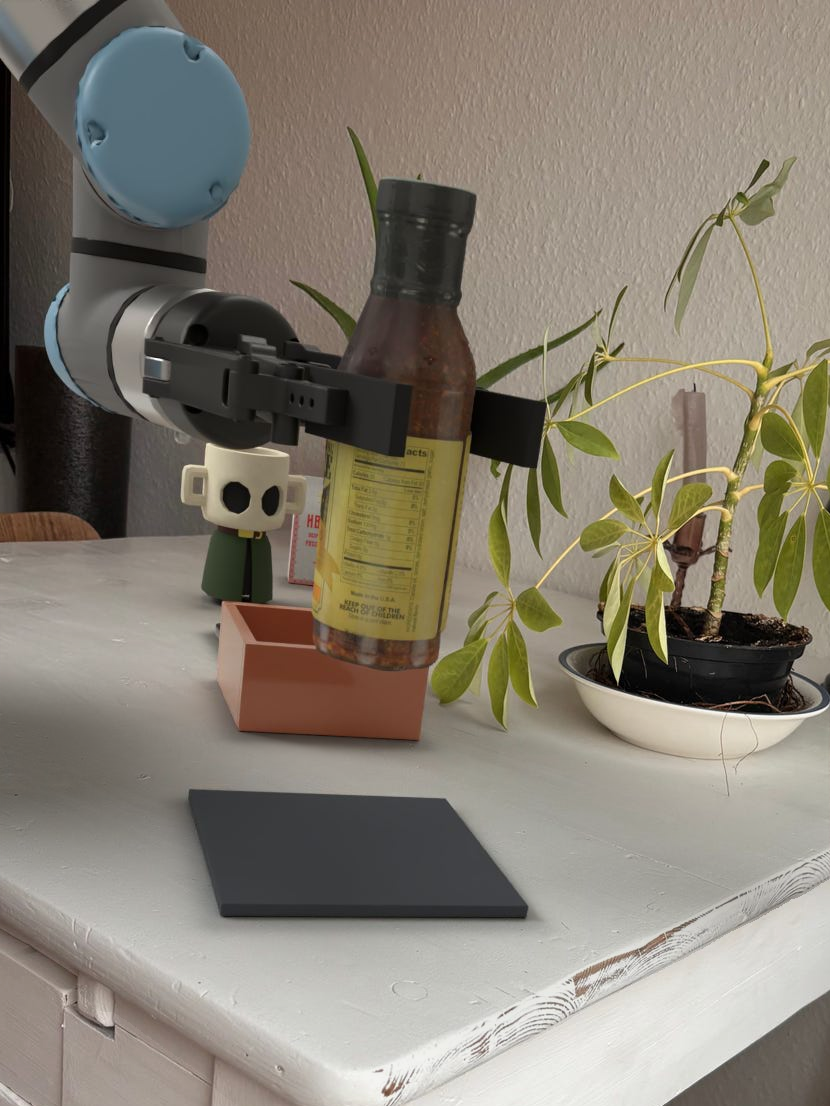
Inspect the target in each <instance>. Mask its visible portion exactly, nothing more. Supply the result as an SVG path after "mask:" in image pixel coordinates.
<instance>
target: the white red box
mask: <svg viewBox="0 0 830 1106" xmlns="http://www.w3.org/2000/svg"><path fill="white" fill-rule="evenodd" d="M298 475H299V476H303V477H305V478H306V481H307V490H306V500H305V508H304V511H303V513H301V514H298V515H297V514H292V521H291V532H290V542H289V543H290V544H289V554H288V565H287V583H289V584H297V585H306V586H312V587H313V586H314V575H315V565H316V554H317V544H318V533H319V523H320V508H321V499H322V493H323V480H324V477H320V476H312V475H304V474H298Z"/></svg>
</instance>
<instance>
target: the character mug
mask: <svg viewBox="0 0 830 1106" xmlns="http://www.w3.org/2000/svg"><path fill="white" fill-rule="evenodd" d="M290 459H291V457H290V454H289V453H286V452H283V451H280V450H278V449H277V450H276V449H272V448H267V447H262V446H259V447H256V448H252V449H245V450H235V449H228V448H224V447H221V446H218V445H215V444H212V443H209V442H206V445H205V452H204V465H200V464H187V465H183V469H182V471H181V487H180V499H181V503H182V504H184V505H187V506H194V507H195V506H196V507H201V512H202V517H203V518H204V520H206V521H208V522H209V523H212V524H214V525H216V526H217V529H214V531H213V532H212V534H211V536H210V539H209V542H208V543H209V544H208V549H207V553H206V558H205V563H204V566H203V567H204V568H203V573H202V579H201V585H200V588H201V591H203V592H204V593H205V594H206V595H207V596H208V597H210V598H214V599H217V600H218V601H230V602H243V601H242V599H243V596H248V601H249V603H254V604H265V603H268V602H271V601H273V596H274V595H273V593H274V591H273V589H274V581H273V580H274V576H273V557H272V545H271V542H270V539H269V536H268V534H267V532H269V531H270V532H271V531H274V530H277V529H281V528H282V525H283V523H284V521H285V518H286V515H287V514H288V515H293V514H297V515H298V514H301V513H303V511H304V508H305V500H306V490H307V481H306V478H305V477H303V476H299V475H300V474H289V473H290V465H291V464H290V463H291V460H290ZM194 478H203V480H202V494H201V493H194V491H193V490H194ZM288 487H294V488H295V492H294V493H295V494H294V502H289V501H287V499H288Z"/></svg>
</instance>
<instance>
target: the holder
mask: <svg viewBox="0 0 830 1106" xmlns="http://www.w3.org/2000/svg"><path fill="white" fill-rule="evenodd" d="M311 609H312V607H301V606H299V607H298V606H290V605H289V606H288V605H276V604H265V603H251V602H243V601H241V602H233V601H226V600H221V609H220V610H221V611H220V622H219V623H220V636H219V639H218V651H217V652H218V653H217V664H216V676H215V677H216V678H215V679H216V681H217V684H218V686H219V688H220V691H221V694H222V695H223V698H224V701H225V702H226V705H227V707H228V709H229V712H230V714H231V716H232V719H233V721H234V723H235V726H236V728H237V730H238V731H239V732H256V733H275V734H292V735H313V736H330V737H331V736H333V737H353V738H369V739H370V738H372V739H373V738H374V739H388V740H389V739H391V740H409V741H419V740H420V737H421V731H422V721H423V714H424V707H425V701H426V695H427V694H426V693H427V686H428V678H429V671H430V666H429V667H427V668H423V669H409V670H402V671H381V670H376V669H372V668H369V667H366V666H362V665H355V664H352V663H348V662H344V661H341V660H338V659H335V658H333V657H330V656H329V655H326V654H322V653H320V652H319V651H318V650H317V649H316V646H315V643H314V642H313V627H314V625H313V614H312V612H311Z"/></svg>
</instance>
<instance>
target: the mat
mask: <svg viewBox="0 0 830 1106" xmlns="http://www.w3.org/2000/svg"><path fill="white" fill-rule="evenodd" d="M188 804H189V807H190V810H191V814H192V818H193V821H194V825H195V829H196V832H197V835H198V839H199V843H200V847H201V850H202V854H203V857H204V861H205V865H206V868H207V872H208V875H209V879H210V882H211V886H212V890H213V893H214V897H215V900H216V905H217V908H218V911H219V915H220V916H221V917H355V918H356V917H358V918H359V917H366V918H367V917H368V918H369V917H372V918H373V917H377V918H378V917H379V918H380V917H381V918H383V917H384V918H389V917H390V918H392V917H394V918H395V917H396V918H405V917H406V918H410V917H411V918H527V917H528V911H529V905H528V904H527V902H526V901H525V900H524V899H523V897H522V895H520V893H519V892H518V890H517V889H516V888H515V886H514V885H513V884H512V883H511V881H510V880H509V879H508V877H507V876H506V875H505V874H504V872H503V871H502V870H501V868H500V867H499V866H498V865H497V863H496V861H494V859H493V858H492V857H491V856H490V854H489V853H488V852H487V851H486V849H485V848H484V846H483V845H482V844H481V842H480V841H479V840H478V838H477V837H476V836H475V835H474V833H473V832H472V831H471V830H470V828H469V827H468V825H467V824H466V822H465V821H464V820H463V819H462V818H461V816H460V815H459V814H458V812H457V811H456V810H455V808H454V807H453V806H452V805H451V803H450V802H449V801H448V799H447V798H445V797H420V796H419V797H418V796H394V795H393V796H392V795H368V794H367V795H366V794H365V795H364V794H363V795H362V794H340V793H339V794H337V793H311V792H307V793H306V792H284V791H283V792H281V791H257V790H231V789H229V790H228V789H227V790H226V789H201V788H198V789H197V788H189V789H188Z"/></svg>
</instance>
